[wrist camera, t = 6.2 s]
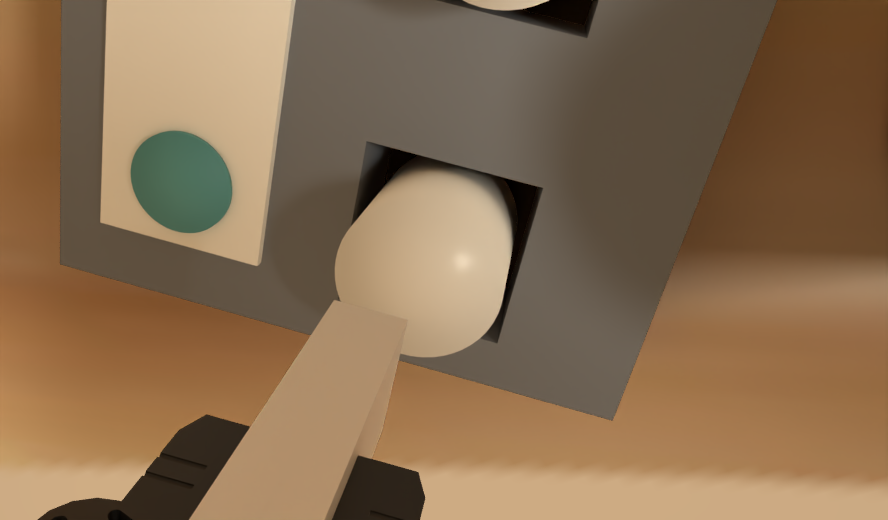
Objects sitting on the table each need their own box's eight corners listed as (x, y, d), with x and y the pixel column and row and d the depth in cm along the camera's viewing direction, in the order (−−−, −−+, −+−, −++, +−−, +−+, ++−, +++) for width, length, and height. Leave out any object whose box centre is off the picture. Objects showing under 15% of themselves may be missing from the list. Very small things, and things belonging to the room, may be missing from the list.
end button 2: (534, 171, 22) (524, 226, 18) (497, 296, 24) (480, 376, 19) (395, 134, 22) (349, 179, 18) (369, 261, 24) (322, 331, 20)
